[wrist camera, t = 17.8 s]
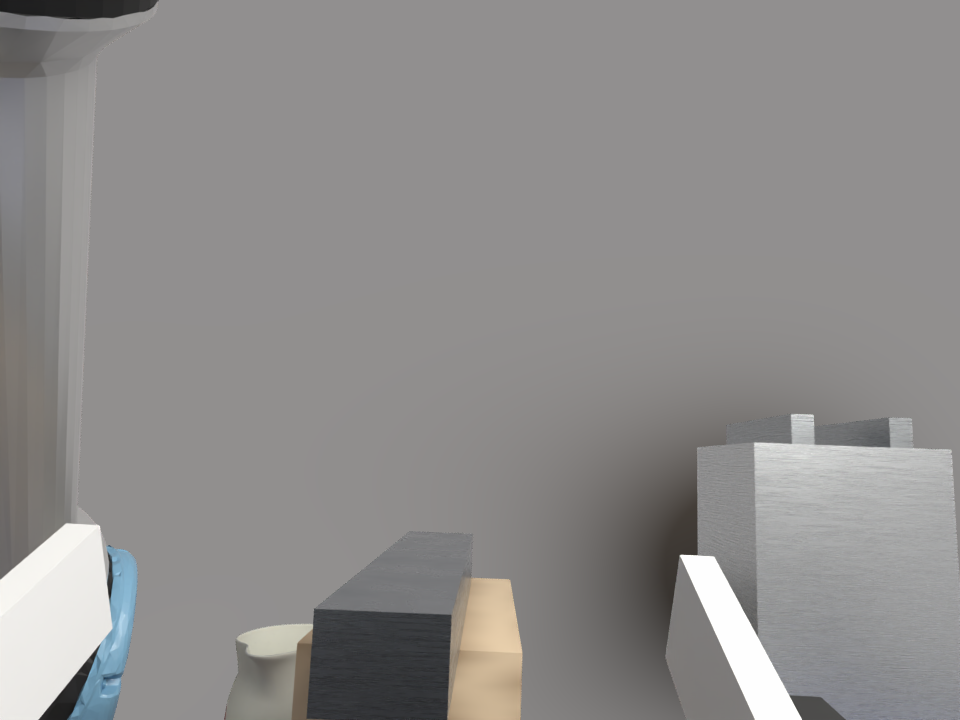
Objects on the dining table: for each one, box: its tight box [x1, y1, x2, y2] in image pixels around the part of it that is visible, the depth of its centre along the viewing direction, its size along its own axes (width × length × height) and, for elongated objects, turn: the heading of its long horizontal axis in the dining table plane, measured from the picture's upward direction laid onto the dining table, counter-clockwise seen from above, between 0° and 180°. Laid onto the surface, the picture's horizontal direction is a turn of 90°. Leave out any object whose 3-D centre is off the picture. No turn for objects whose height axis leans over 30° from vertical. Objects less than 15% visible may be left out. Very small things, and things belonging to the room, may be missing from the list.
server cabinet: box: [697, 414, 960, 720], centre depth 51 cm, size 13×13×32 cm
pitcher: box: [224, 624, 313, 720], centre depth 58 cm, size 11×18×14 cm, turn 171°
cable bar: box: [307, 531, 473, 720], centre depth 32 cm, size 4×24×3 cm, turn 179°
